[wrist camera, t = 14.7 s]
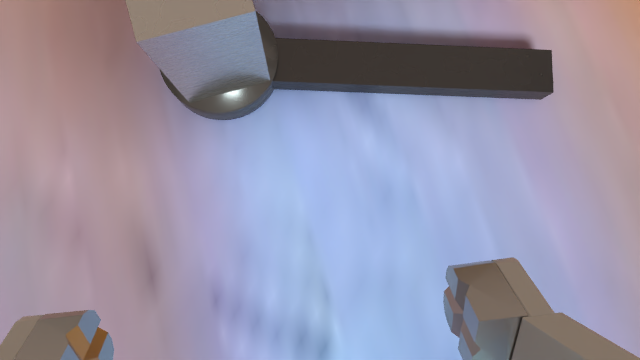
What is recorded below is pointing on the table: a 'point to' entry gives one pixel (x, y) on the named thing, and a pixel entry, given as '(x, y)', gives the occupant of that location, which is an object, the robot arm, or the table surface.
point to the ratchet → (383, 72)
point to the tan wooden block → (201, 43)
